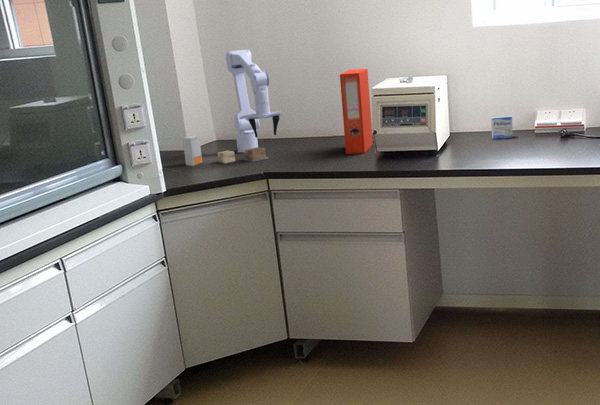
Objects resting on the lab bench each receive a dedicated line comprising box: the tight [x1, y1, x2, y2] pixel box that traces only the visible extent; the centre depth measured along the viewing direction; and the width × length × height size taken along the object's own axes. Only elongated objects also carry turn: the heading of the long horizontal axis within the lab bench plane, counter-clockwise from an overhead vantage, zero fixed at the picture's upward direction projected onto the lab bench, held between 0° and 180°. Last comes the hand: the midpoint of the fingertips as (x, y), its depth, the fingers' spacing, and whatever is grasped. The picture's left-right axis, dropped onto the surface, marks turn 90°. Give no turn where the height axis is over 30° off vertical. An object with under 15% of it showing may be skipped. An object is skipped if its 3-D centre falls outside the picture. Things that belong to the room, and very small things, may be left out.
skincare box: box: [182, 135, 203, 167], centre depth 323 cm, size 6×4×12 cm
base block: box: [245, 146, 267, 162], centre depth 320 cm, size 6×6×4 cm
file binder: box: [339, 68, 374, 155], centre depth 317 cm, size 8×17×32 cm, turn 164°
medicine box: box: [490, 115, 514, 140], centre depth 313 cm, size 8×4×9 cm, turn 81°
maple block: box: [217, 150, 236, 164], centre depth 321 cm, size 5×5×4 cm
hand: (265, 135), depth 317 cm, fingers open, 7 cm apart
